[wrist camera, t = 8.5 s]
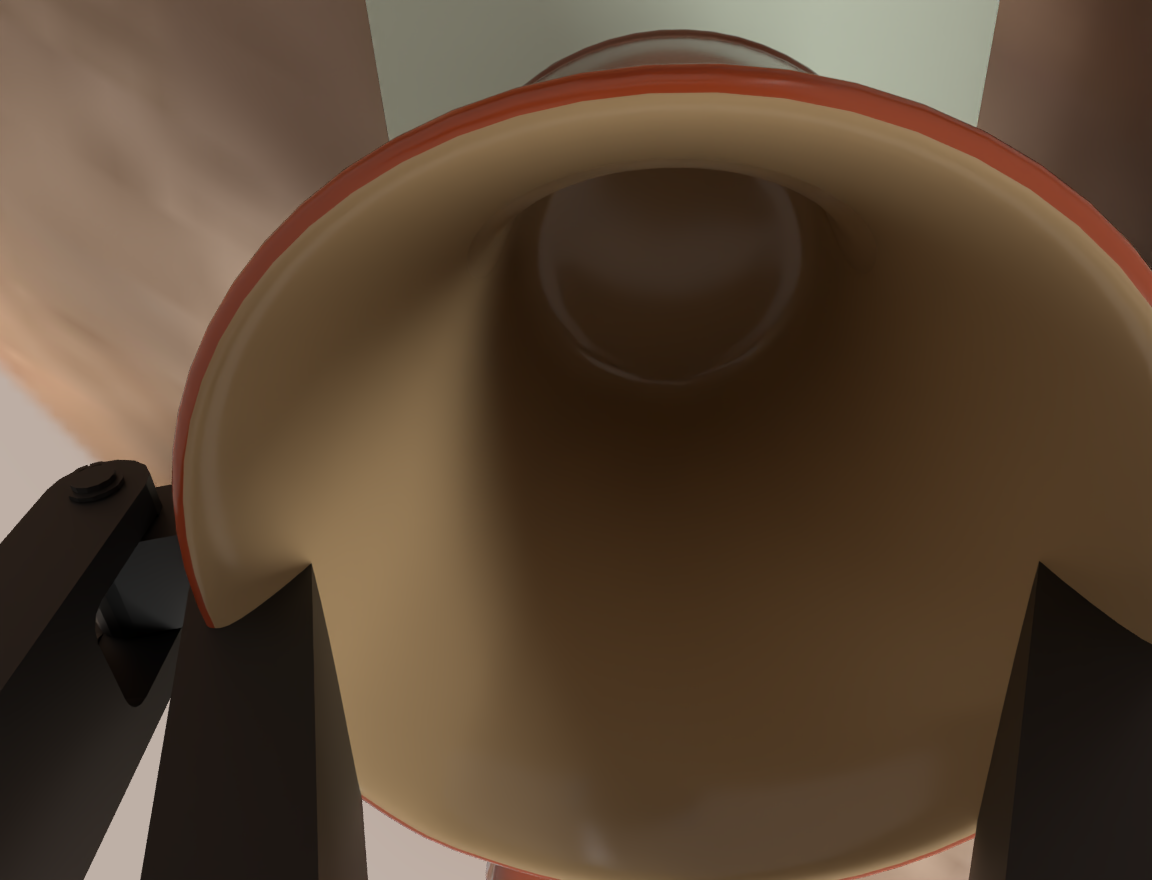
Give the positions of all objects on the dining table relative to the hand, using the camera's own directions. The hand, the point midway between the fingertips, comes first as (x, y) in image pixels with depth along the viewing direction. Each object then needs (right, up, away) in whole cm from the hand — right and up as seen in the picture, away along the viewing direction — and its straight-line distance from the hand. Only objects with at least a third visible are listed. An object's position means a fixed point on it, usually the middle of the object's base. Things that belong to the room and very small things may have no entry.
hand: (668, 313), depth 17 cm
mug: (0, 0, 0) cm, 1 cm away
